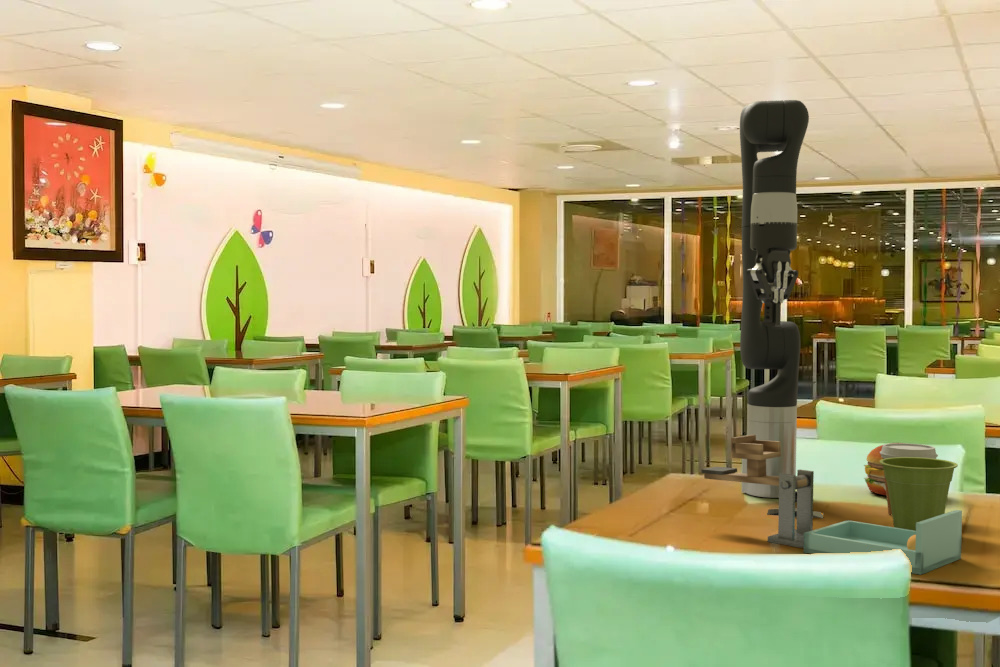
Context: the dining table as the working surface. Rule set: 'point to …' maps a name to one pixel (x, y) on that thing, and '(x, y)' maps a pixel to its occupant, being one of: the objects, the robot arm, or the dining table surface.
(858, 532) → the tray
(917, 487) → the plant pot
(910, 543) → the ball
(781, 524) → the catapult base
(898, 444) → the disposable coffee cup
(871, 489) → the burger
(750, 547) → the dining table surface
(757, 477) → the lever
